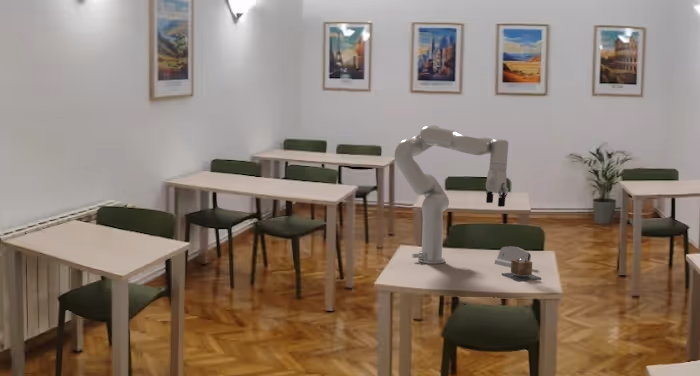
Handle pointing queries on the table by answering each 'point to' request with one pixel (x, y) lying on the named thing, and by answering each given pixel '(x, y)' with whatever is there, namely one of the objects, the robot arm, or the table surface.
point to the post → (521, 277)
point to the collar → (521, 267)
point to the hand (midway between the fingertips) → (495, 204)
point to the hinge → (511, 255)
